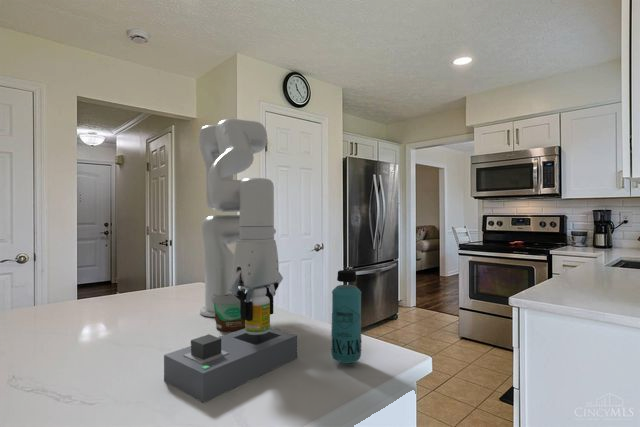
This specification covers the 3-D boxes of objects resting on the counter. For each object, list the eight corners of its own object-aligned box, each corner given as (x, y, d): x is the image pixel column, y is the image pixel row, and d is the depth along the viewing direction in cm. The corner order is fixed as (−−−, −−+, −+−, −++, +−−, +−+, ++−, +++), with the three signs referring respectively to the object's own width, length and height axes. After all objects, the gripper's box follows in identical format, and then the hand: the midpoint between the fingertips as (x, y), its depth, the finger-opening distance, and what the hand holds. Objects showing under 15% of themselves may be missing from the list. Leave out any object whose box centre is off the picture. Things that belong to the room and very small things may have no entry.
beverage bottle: (329, 358, 79) (329, 268, 79) (359, 357, 80) (358, 267, 80) (333, 371, 73) (332, 273, 73) (365, 369, 73) (364, 272, 73)
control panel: (258, 344, 88) (257, 311, 88) (297, 357, 80) (297, 321, 80) (164, 380, 69) (163, 339, 69) (203, 402, 61) (203, 355, 61)
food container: (215, 336, 94) (215, 298, 94) (211, 329, 99) (210, 293, 99) (260, 329, 99) (260, 293, 99) (254, 323, 105) (254, 289, 105)
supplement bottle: (264, 336, 76) (264, 290, 76) (241, 334, 77) (240, 289, 77) (273, 328, 81) (273, 285, 81) (250, 327, 82) (250, 284, 82)
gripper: (273, 232, 88) (273, 305, 88) (213, 235, 75) (214, 322, 75) (295, 233, 83) (296, 310, 83) (236, 237, 70) (237, 329, 70)
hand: (257, 315), depth 79 cm, fingers closed on supplement bottle, 5 cm apart
